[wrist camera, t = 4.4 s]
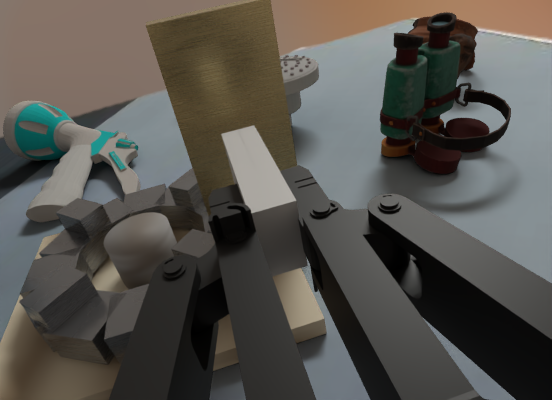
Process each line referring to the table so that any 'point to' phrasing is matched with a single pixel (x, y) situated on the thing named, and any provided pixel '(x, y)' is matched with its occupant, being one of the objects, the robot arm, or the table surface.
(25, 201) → the table surface
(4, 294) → the table surface
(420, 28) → the brown leather pouch
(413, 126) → the binoculars
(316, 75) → the showerhead
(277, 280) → the base
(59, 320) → the block ring with board
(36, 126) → the garden hose nozzle
